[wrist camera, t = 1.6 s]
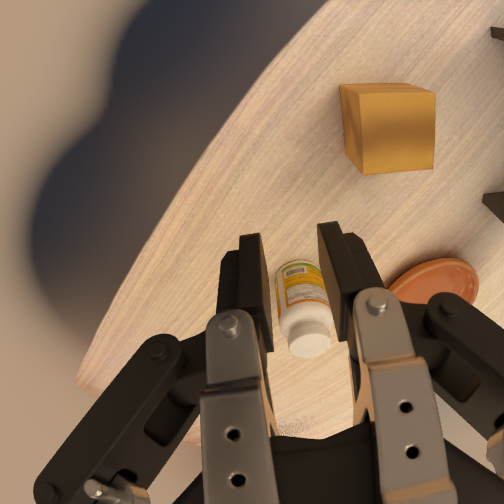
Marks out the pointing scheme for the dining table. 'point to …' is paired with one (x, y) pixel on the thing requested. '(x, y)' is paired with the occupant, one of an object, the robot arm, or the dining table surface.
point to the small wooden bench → (499, 202)
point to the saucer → (437, 281)
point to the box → (388, 127)
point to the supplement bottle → (303, 309)
